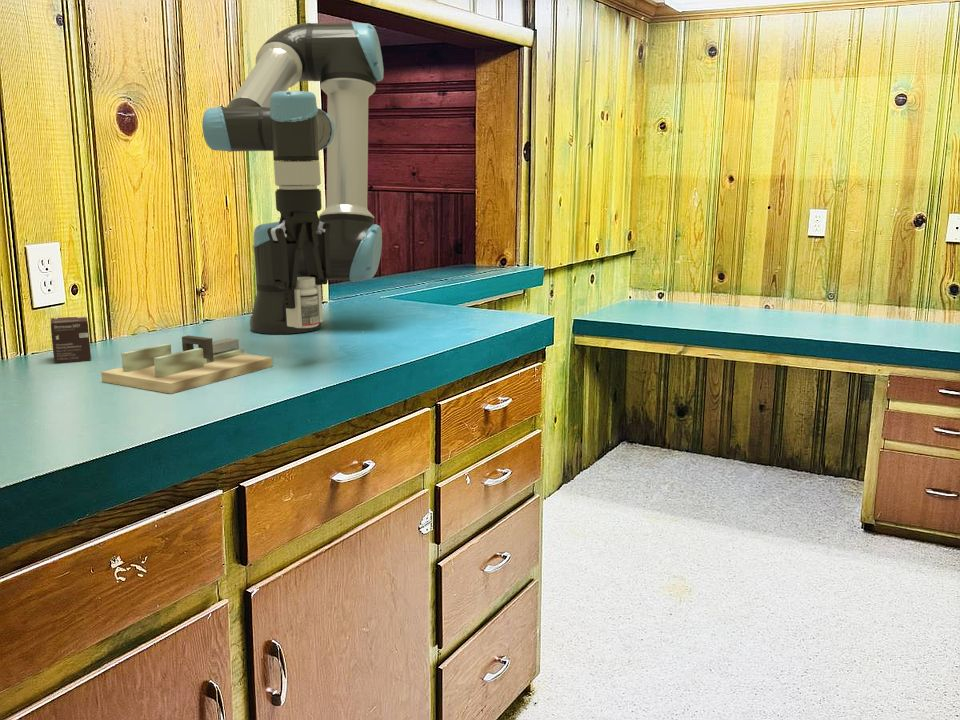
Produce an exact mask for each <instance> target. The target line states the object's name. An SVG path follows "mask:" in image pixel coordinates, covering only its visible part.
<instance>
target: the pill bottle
mask: <svg viewBox="0 0 960 720" xmlns="http://www.w3.org/2000/svg"><path fill="white" fill-rule="evenodd" d="M314 286H315V278H314V277H297V286H296V289H300V297H301V316H302V327H300V328H312V327H316V326H318V325H319V314H318V293H317V289H315V288H314ZM295 328H297V327H295Z"/></svg>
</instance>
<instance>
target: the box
mask: <svg viewBox="0 0 960 720" xmlns="http://www.w3.org/2000/svg"><path fill="white" fill-rule="evenodd" d="M89 331H90V330H89V322H88V317H87V316H65V317H55V318H54V317H51V318H50V333H51V345H52V353H53V354H52V355H53V362H54V363H55V364H59V363H60V364H61V363H75V362H86V361H87V362H88V361H92V353H91V343H90V332H89Z"/></svg>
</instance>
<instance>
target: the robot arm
mask: <svg viewBox="0 0 960 720" xmlns="http://www.w3.org/2000/svg"><path fill="white" fill-rule="evenodd" d="M379 39H380V38H379V35H378V33H377V30H376V28H375V27H374V25H372V24H371V23H368V22H367V23H365V22H354V21H352V22H323V23H321V22H320V23H319V22H316V23H315V22H314V23H312V22H303V23H298V24H294V25H292V26H289V27H286V28H284V29H282V30H281V31H278V32H277V33H276V34H274V35H273V36H271V37H270V38H268V39H267V40H266V41H265V42H264V43H263V44H262V46H261V47H260V48H259V50H258V51H257V53H256V56H255V65H254V67H253V68H252V70H251V71H250V72H249V73H248V75H247V76H246V78H245V80H244V81H243V82H242V84H241V86H239V88H238V90H237V91H236V92H235V94H234V96H233V97H232V99H230V102H229V103H228V104H227V105H226V107H225V106H224V107H223V106H216V107H209V108H206V110H205V111H204V112H203V115H202V116H203V117H202V125H201V126H202V128H201V129H202V134H203V138H204V141H205V143H206V145H207V147H208V148H210V149H211V150H212V151H217V152H221V151H222V152H228V153H232V152H272V156H273V158H272V159H273V173H274V184H275V186H277V187H278V189H276V190H275V191H274V193H275V195H274V196H275V208H276V210H277V212H279V213H280V216H279V221H274V222H267V223H261V224H258V225H257V226H256V227H255V228H254V230H253V246H252V248H253V254H254V268H255V269H254V270H255V271H254V272H255V285H256V290H255V291H256V295H255V300H254V303H253V309H252V313H251V314H252V315H251V316H250V318H249V327H250V331H252V332H254V333H259V334H269V335H270V334H271V335H275V334H276V335H278V334H279V335H284V334H285V335H286V334H300V333H308V332H312V331H317V330H320V329H321V328H322V327H323V326H322V322H323V321H324V320H323V319H324V317H323V301H324V299H323V298H324V295H323V293H324V291H323V285H327V284H328V281H350V282H354V281H363V280H365V281H367V280H370V279H372V278H373V277H374V276H375V275H376V274H377V271H378V268H379V265H380V261H381V255H382V248H383V246H382V245H383V239H382V238H383V230H382V228H381V226H380V225H378V224H376V223H375V216H374V215H373V214H372V213H371V212H370V211H369V209H368V186H369V185H368V183H369V182H368V181H369V179H368V178H369V177H368V174H369V172H368V171H369V170H368V169H369V166H368V165H369V162H368V161H369V155H368V154H369V98H370V96H372V95H373V94H374V93H375V92H376V89H377V87H376V86H377V85H376V84H377V82H379V83H380V81H381V82H382V81H383V79H384V74H385V72H384V71H385V70H384V62H383V55H382V49H381V44H380V40H379ZM298 82H320V83H319V84H320V86H319V87H320V89H321V91H323V93H324V94H325V95H326V97H327V104H326V105H327V106H326V107H327V112H325V111H324V110H322V109H321V108H318V106H317V105H318V104H317V96H316V95H315V93H313V92H311V91H302V90H288V89H289V88H293V87H294V86H295V85H296V84H298ZM325 148H326V207H325V209H324V210H323V211H322V212H321V213H319V215H318V212H319V211H321V210H322V206H323V205H322V191H321V190H320V188H318V186H320V185H321V184H322V183H321V182H322V181H321V164H320V151H322V150H323V149H325ZM297 277H314V278H315V286H314V288H315V289H317V293H318V314H319V325H318V326H316V327H312V328H300V327H302V316H301V297H300V289H296V286H297ZM295 327H297V328H295Z"/></svg>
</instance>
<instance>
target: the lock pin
mask: <svg viewBox="0 0 960 720" xmlns="http://www.w3.org/2000/svg"><path fill="white" fill-rule="evenodd" d="M239 343H240V342H239V339H238V338H230V337H227V338H222V339H218V340H212V344H213V355H217V354H221V353H226V352H230V351H234V350H238V349H240V344H239ZM197 348H202V346H201V345H197Z"/></svg>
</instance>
